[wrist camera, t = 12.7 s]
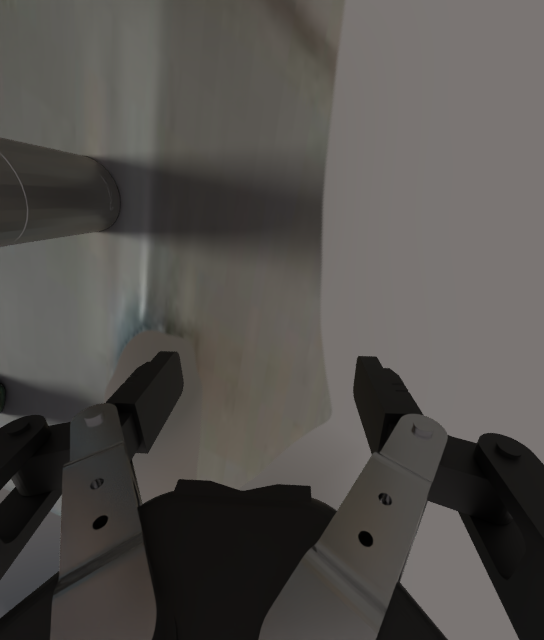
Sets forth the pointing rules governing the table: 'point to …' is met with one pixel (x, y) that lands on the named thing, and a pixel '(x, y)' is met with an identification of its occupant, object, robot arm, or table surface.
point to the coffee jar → (2, 397)
